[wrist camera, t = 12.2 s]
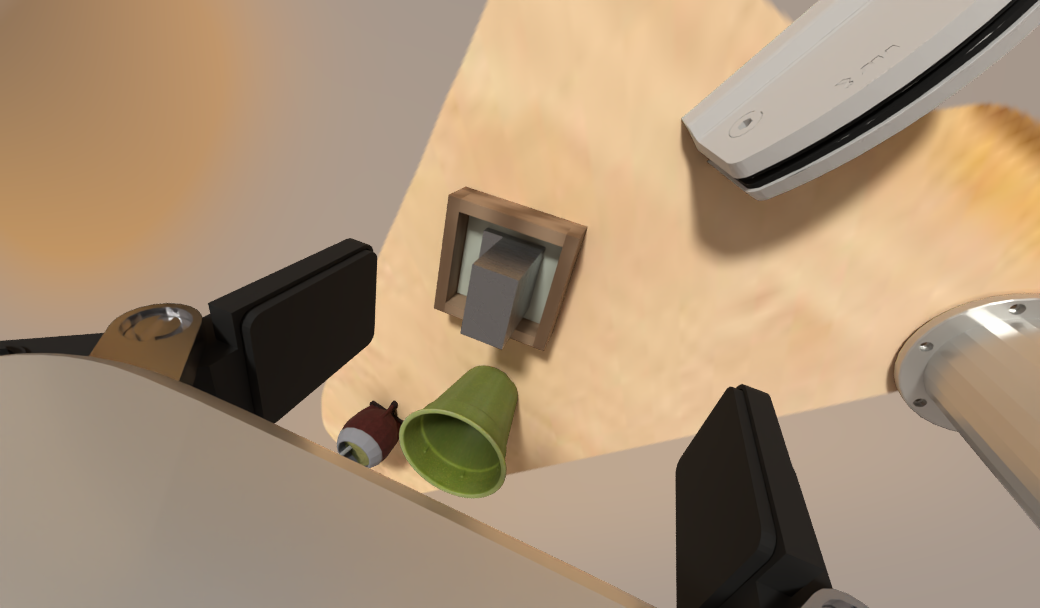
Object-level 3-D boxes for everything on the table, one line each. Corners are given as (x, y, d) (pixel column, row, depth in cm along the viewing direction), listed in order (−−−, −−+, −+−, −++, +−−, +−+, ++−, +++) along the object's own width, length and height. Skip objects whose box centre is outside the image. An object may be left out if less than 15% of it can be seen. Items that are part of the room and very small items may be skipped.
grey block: (545, 246, 38) (518, 280, 32) (529, 307, 42) (501, 349, 35) (487, 227, 39) (449, 255, 33) (476, 288, 43) (440, 325, 36)
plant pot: (550, 421, 50) (522, 499, 40) (470, 427, 55) (428, 497, 46) (516, 340, 46) (476, 405, 36) (433, 354, 51) (379, 415, 42)
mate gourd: (417, 414, 57) (345, 505, 45) (400, 442, 62) (330, 533, 49) (373, 384, 57) (289, 467, 45) (359, 414, 62) (279, 498, 49)
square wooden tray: (587, 226, 37) (579, 238, 34) (552, 333, 44) (543, 351, 41) (465, 186, 40) (448, 194, 36) (449, 293, 46) (433, 308, 43)
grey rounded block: (939, -103, 23) (1123, -124, 15) (963, -29, 25) (1137, -15, 17) (676, 122, 32) (713, 178, 24) (709, 163, 34) (752, 227, 26)
